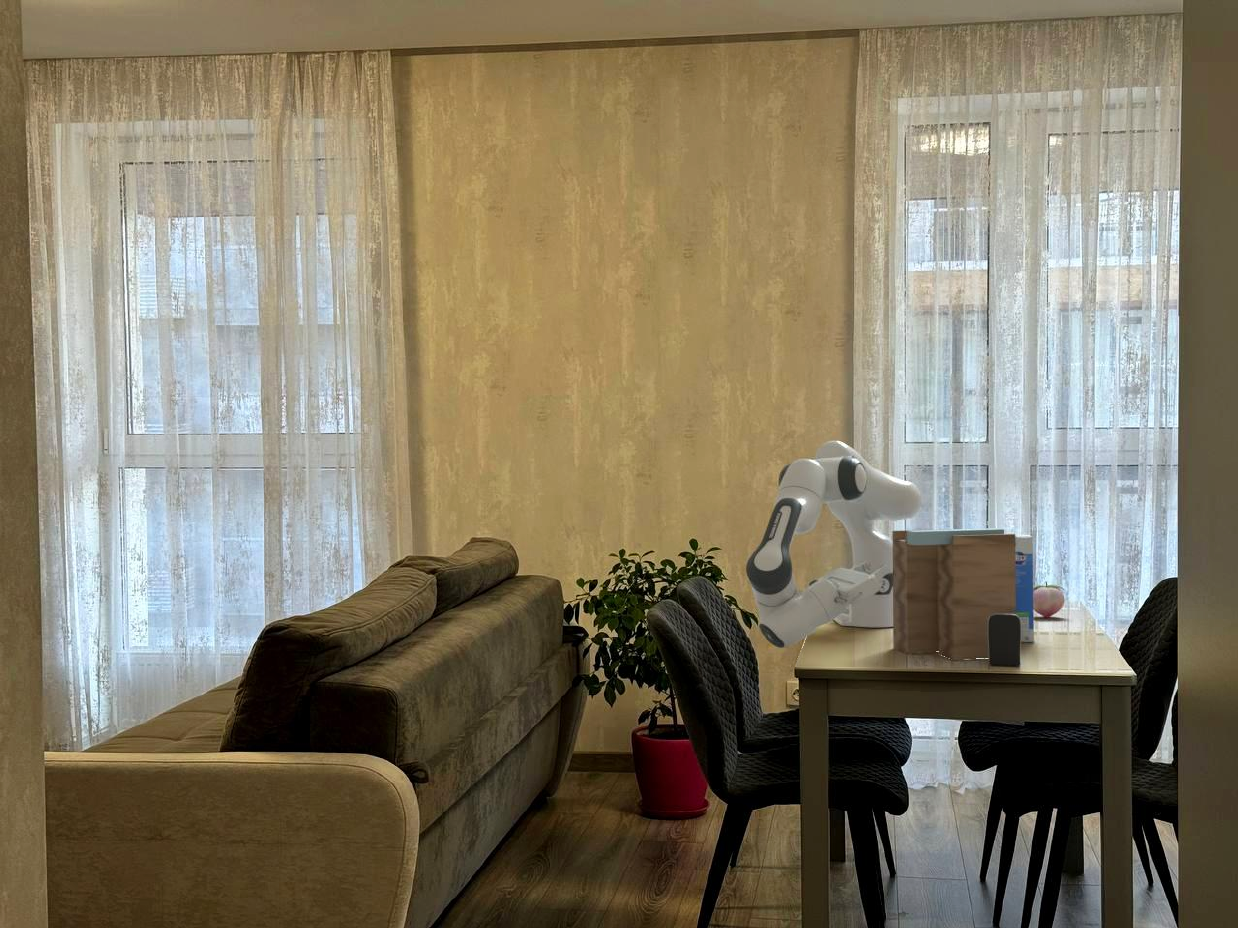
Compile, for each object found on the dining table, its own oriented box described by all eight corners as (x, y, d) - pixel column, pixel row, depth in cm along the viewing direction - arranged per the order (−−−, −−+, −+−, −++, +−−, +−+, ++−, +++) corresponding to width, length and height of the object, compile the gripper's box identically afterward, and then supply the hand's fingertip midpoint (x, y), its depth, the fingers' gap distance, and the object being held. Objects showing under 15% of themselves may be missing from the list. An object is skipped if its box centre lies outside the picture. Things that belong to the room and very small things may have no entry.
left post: (893, 648, 303) (892, 530, 302) (951, 645, 306) (950, 529, 305) (907, 653, 295) (906, 533, 295) (967, 650, 298) (966, 531, 298)
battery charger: (1020, 663, 280) (1020, 612, 280) (1021, 667, 277) (1021, 614, 277) (987, 663, 282) (987, 611, 282) (988, 666, 278) (987, 613, 278)
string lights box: (1030, 638, 316) (1029, 534, 315) (1034, 642, 308) (1034, 536, 308) (975, 637, 318) (974, 534, 318) (978, 642, 311) (977, 536, 310)
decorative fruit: (1056, 615, 355) (1056, 579, 355) (1068, 619, 347) (1068, 582, 347) (1023, 615, 355) (1023, 579, 354) (1034, 619, 346) (1034, 583, 346)
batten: (907, 544, 288) (907, 530, 288) (996, 541, 293) (996, 528, 293) (914, 545, 285) (914, 531, 285) (1004, 542, 290) (1004, 529, 290)
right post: (938, 655, 293) (937, 533, 292) (998, 652, 296) (997, 531, 295) (954, 660, 285) (953, 536, 285) (1016, 657, 288) (1015, 534, 288)
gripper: (838, 591, 272) (890, 558, 275) (805, 582, 292) (854, 550, 295) (852, 616, 273) (904, 582, 275) (818, 605, 293) (867, 573, 295)
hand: (878, 566), depth 285 cm, fingers open, 8 cm apart
